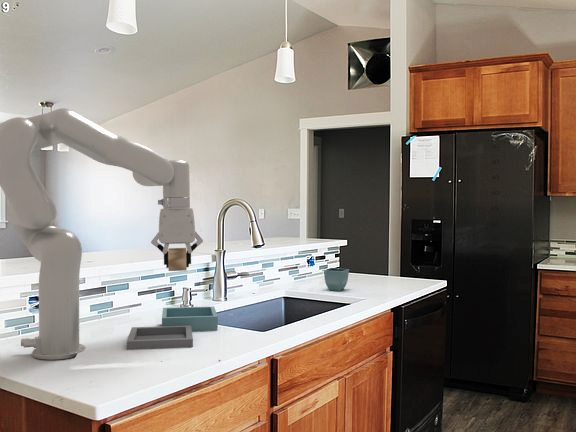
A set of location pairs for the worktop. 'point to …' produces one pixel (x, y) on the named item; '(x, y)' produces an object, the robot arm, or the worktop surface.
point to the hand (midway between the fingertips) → (177, 266)
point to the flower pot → (336, 278)
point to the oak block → (177, 259)
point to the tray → (191, 317)
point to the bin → (160, 337)
